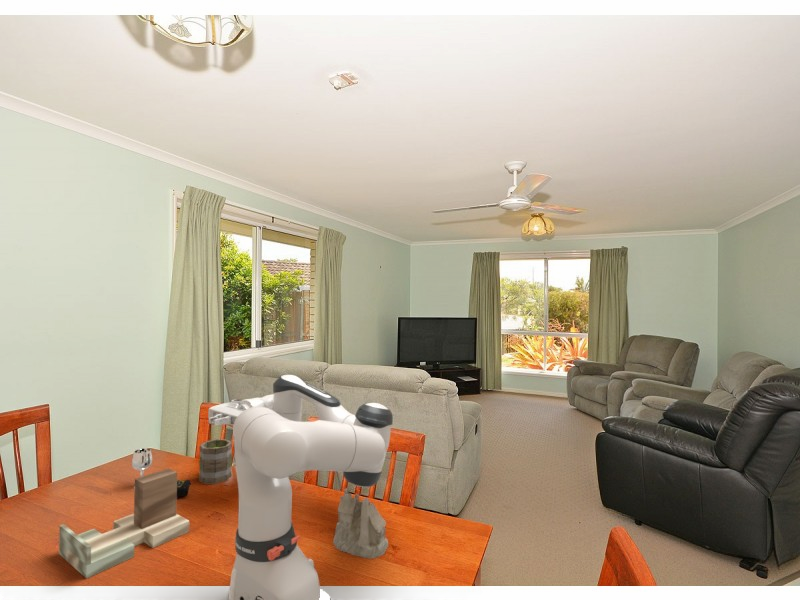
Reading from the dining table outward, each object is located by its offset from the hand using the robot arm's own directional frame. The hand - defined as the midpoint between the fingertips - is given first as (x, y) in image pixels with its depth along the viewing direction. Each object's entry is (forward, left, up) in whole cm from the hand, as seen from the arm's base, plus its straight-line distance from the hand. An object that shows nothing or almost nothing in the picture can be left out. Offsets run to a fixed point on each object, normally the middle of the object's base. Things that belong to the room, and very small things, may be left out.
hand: (211, 421), depth 130 cm
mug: (+20, -15, -26) cm, 36 cm away
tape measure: (+16, 0, -26) cm, 31 cm away
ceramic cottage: (-49, -14, -26) cm, 57 cm away
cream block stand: (0, +23, -26) cm, 35 cm away
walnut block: (0, +16, -23) cm, 28 cm away
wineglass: (+31, +5, -26) cm, 41 cm away
